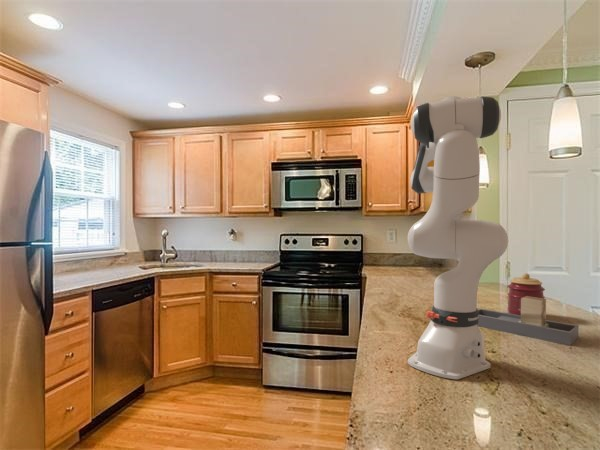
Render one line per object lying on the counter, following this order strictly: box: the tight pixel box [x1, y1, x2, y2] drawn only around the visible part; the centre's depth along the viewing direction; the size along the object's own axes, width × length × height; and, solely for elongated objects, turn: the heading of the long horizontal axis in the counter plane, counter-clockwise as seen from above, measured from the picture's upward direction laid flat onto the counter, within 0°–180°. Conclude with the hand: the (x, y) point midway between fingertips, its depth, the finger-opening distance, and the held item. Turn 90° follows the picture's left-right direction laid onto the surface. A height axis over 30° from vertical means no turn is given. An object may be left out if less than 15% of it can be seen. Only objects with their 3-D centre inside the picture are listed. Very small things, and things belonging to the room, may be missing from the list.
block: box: [521, 296, 547, 326], centre depth 122 cm, size 6×6×9 cm
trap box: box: [477, 307, 580, 346], centre depth 125 cm, size 12×32×4 cm, turn 42°
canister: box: [507, 272, 546, 315], centre depth 145 cm, size 13×13×18 cm
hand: (445, 237), depth 138 cm, fingers closed
